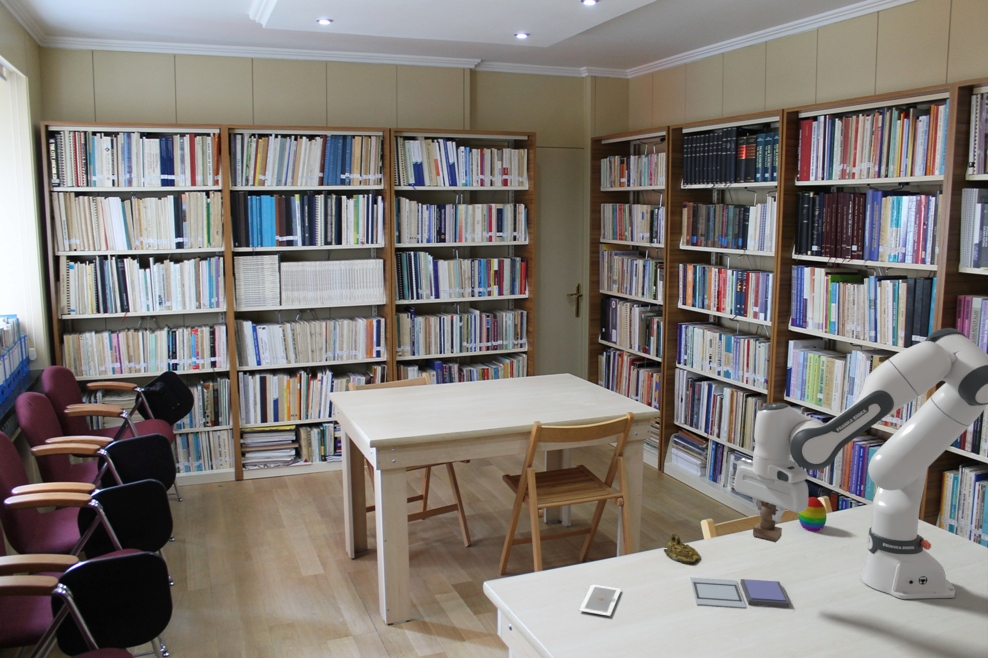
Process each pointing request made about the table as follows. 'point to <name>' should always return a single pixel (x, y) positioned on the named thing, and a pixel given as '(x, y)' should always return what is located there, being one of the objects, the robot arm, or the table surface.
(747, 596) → the ink pad
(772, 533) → the stamp
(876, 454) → the robot arm
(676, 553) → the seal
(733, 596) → the marked card
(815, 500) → the decorative egg
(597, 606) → the touchpad
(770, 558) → the table surface
